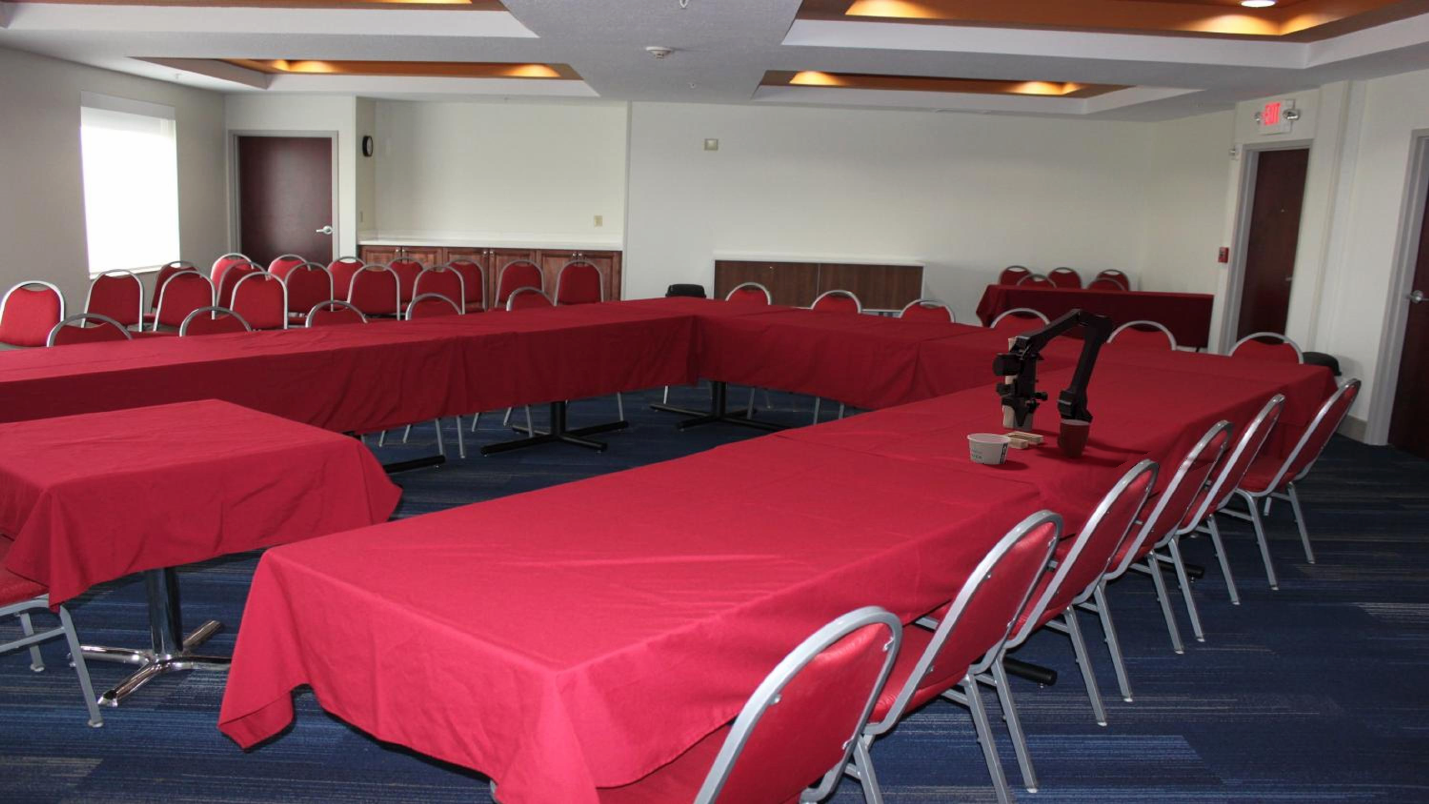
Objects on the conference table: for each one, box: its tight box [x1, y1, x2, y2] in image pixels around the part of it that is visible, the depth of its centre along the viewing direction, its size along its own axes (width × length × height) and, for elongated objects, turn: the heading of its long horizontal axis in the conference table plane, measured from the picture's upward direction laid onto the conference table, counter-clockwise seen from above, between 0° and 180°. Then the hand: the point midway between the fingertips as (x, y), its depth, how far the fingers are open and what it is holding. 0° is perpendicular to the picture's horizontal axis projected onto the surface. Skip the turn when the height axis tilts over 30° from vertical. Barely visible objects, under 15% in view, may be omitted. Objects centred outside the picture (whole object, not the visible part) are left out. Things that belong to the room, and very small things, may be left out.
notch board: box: [1002, 430, 1044, 450], centre depth 324 cm, size 14×9×2 cm, turn 136°
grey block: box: [1011, 413, 1035, 433], centre depth 322 cm, size 3×5×5 cm, turn 46°
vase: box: [1001, 335, 1021, 430], centre depth 344 cm, size 9×8×30 cm
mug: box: [1056, 419, 1091, 459], centre depth 306 cm, size 10×8×10 cm
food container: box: [967, 433, 1011, 465], centre depth 301 cm, size 12×12×6 cm
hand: (1022, 426), depth 322 cm, fingers closed on grey block, 3 cm apart
